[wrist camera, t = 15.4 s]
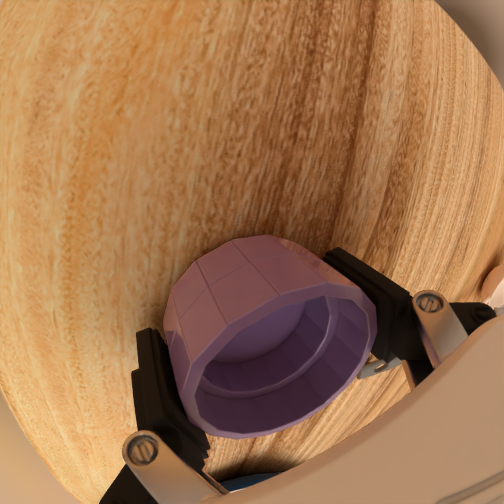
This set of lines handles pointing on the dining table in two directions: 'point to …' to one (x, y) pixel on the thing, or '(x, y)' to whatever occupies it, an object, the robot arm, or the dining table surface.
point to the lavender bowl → (264, 336)
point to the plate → (246, 481)
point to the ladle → (493, 294)
